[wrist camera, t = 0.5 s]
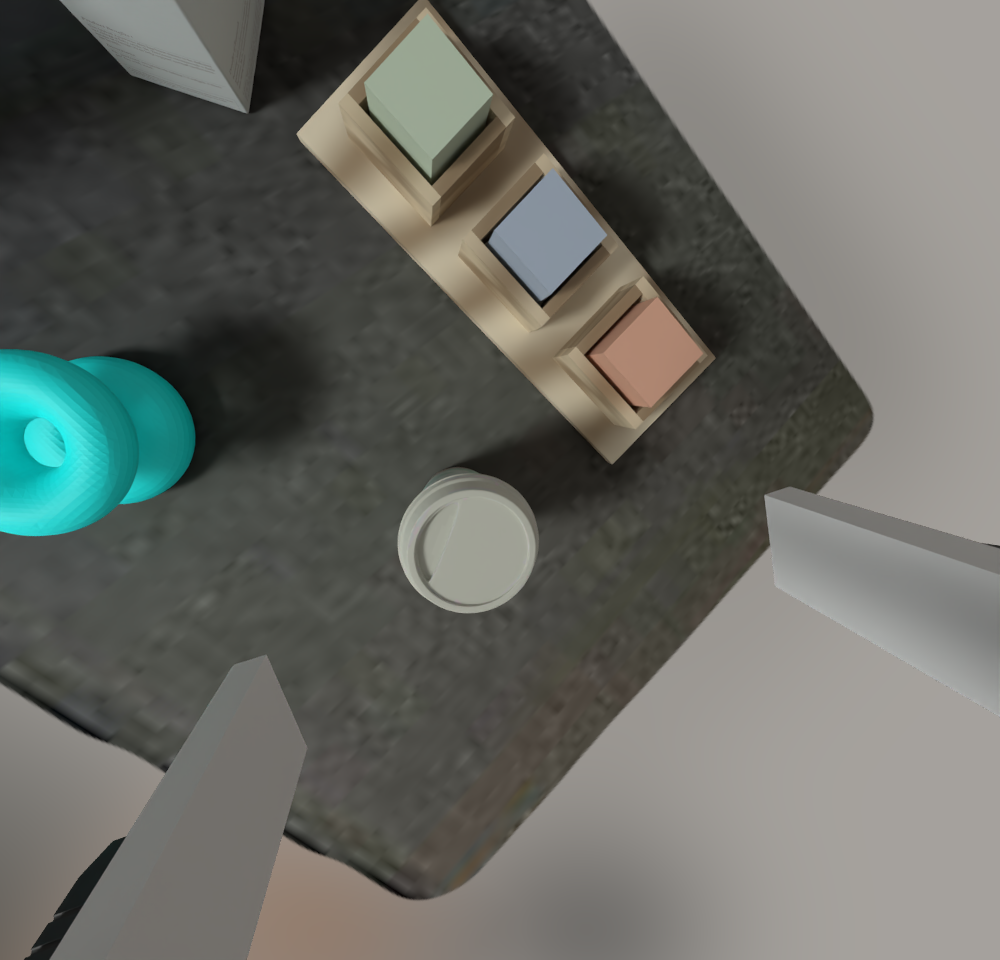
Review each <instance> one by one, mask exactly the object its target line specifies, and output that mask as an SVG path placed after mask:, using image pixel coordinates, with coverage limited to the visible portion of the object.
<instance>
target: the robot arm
mask: <svg viewBox="0 0 1000 960" xmlns="http://www.w3.org/2000/svg"><path fill="white" fill-rule="evenodd" d="M764 496H765V505H766V513H767V522H768V530H769V539H770V547H771V556H772V563H773V571H774V572H773V573H774V580H775V587H777V588H779V589H781V590H782V591H784V592H786V593H788V594H789V595H791V596H793V597H794V598H796V599H798V600H799V601H801V602H803V603H805V604H807V605H808V606H810V607H811V608H813V609H815V610H817V611H818V612H820V613H822V614H824V615H825V616H827V617H829V618H831V619H832V620H834V621H835V622H837V623H839V624H841V625H842V626H844V627H846V628H848V629H849V630H851V631H853V632H854V633H856V634H858V635H860V636H861V637H863V638H865V639H866V640H868V641H870V642H872V643H873V644H875V645H877V646H879V647H880V648H882V649H884V650H885V651H887V652H889V653H890V654H892V655H894V656H896V657H897V658H899V659H901V660H902V661H904V662H906V663H908V664H909V665H911V666H913V667H914V668H916V669H918V670H920V671H921V672H923V673H925V674H927V675H928V676H930V677H932V678H934V679H935V680H937V681H939V682H940V683H942V684H944V685H945V686H947V687H949V688H951V689H952V690H954V691H956V692H958V693H959V694H961V695H963V696H964V697H966V698H968V699H970V700H971V701H973V702H975V703H976V704H978V705H980V706H982V707H983V708H985V709H987V710H988V711H990V712H992V713H993V714H995V715H997V716H999V717H1000V546H998V545H991V544H984V543H979V542H976V541H972V540H968V539H965V538H962V537H959V536H955V535H952V534H948V533H945V532H942V531H938V530H935V529H931V528H928V527H925V526H921V525H918V524H914V523H911V522H908V521H904V520H901V519H898V518H894V517H891V516H887V515H884V514H880V513H877V512H874V511H870V510H867V509H864V508H860V507H857V506H853V505H850V504H847V503H843V502H840V501H836V500H833V499H829V498H826V497H823V496H820V495H816V494H813V493H809V492H806V491H803V490H799V489H796V488H792V487H788V488H784V489H781V490H778V491H775V492H772V493H769V494H766V495H764ZM306 751H307V746H306V744H305V742H304V739H303V737H302V735H301V733H300V730H299V728H298V726H297V723H296V721H295V719H294V717H293V714H292V712H291V710H290V707H289V705H288V703H287V701H286V698H285V696H284V694H283V691H282V689H281V687H280V685H279V682H278V680H277V678H276V675H275V673H274V671H273V669H272V666H271V664H270V662H269V660H268V657H267V655H263V656H260V657H257V658H254V659H251V660H248V661H244V662H241V663H238V664H235V665H233V666H232V668H231V669H230V671H229V673H228V674H227V676H226V677H225V679H224V681H223V682H222V684H221V685H220V687H219V689H218V690H217V692H216V693H215V695H214V697H213V698H212V700H211V702H210V703H209V705H208V706H207V708H206V710H205V711H204V713H203V714H202V716H201V718H200V719H199V721H198V722H197V724H196V726H195V727H194V729H193V730H192V732H191V734H190V735H189V737H188V738H187V740H186V742H185V743H184V745H183V746H182V748H181V750H180V751H179V753H178V754H177V756H176V758H175V759H174V761H173V762H172V764H171V766H170V767H169V769H168V770H167V772H166V774H165V775H164V777H163V779H162V780H161V782H160V783H159V785H158V787H157V788H156V790H155V791H154V793H153V795H152V796H151V798H150V799H149V801H148V803H147V804H146V806H145V807H144V809H143V811H142V812H141V814H140V815H139V817H138V819H137V820H136V822H135V823H134V825H133V827H132V828H131V830H130V831H129V833H128V835H127V836H126V837H123V838H120V839H118V840H115V841H113V842H112V843H111V844H110V845H109V846H108V847H107V848H106V849H105V850H104V851H103V852H102V853H101V854H100V856H99V857H98V858H97V859H96V860H95V861H94V862H93V863H92V864H91V865H90V866H89V867H88V868H87V869H86V870H85V871H84V872H83V874H82V875H81V876H80V877H79V878H78V880H77V881H76V883H75V884H74V886H73V887H72V889H71V890H70V892H69V893H68V895H67V896H66V898H65V899H64V901H63V902H62V904H61V905H60V907H59V908H58V910H57V911H56V913H55V914H54V920H53V922H51V923H48V925H47V926H46V928H45V929H44V931H43V932H42V934H41V935H40V937H39V938H38V940H37V941H36V943H35V944H34V946H33V947H32V949H31V950H32V953H31V955H30V956H29V957H26V958H25V959H24V960H247V957H248V953H249V950H250V946H251V942H252V939H253V936H254V932H255V929H256V925H257V921H258V918H259V915H260V911H261V908H262V904H263V901H264V897H265V894H266V890H267V887H268V883H269V880H270V876H271V873H272V869H273V866H274V862H275V859H276V855H277V852H278V848H279V845H280V841H281V838H282V834H283V831H284V827H285V824H286V821H287V817H288V814H289V810H290V807H291V803H292V800H293V796H294V793H295V789H296V786H297V782H298V779H299V775H300V772H301V768H302V765H303V761H304V758H305V754H306Z"/></svg>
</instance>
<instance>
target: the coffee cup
mask: <svg viewBox="0 0 1000 960" xmlns="http://www.w3.org/2000/svg"><path fill="white" fill-rule="evenodd" d="M538 546H539V536H538V529H537V524H536V520H535V517H534V514H533V512H532V510H531V508H530V506H529V504H528V503H527V501H526V500H525V499H524V497H523V496H522V495H521V494H520V493H519V492H518V491H517V490H516V489H515V488H513V487H512V486H511V485H509V484H508V483H506V482H504V481H502V480H500V479H498V478H495V477H492V476H489V475H484V474H480V473H478V472H476V471H474V470H471V469H468V468H464V467H452V468H447V469H444V470H442V471H440V472H438V473H437V474H435V475H434V476H433V477H432V478H431V479H430V480H429V481H428V483H427V484H426V486H425V488H424V489H423V491H422V492H421V493H420V494H419V495H418V496H417V497H416V498H415V499H414V500H413V502H412V503H411V504H410V506H409V507H408V509H407V511H406V512H405V514H404V516H403V519H402V522H401V525H400V528H399V534H398V553H399V558H400V562H401V565H402V567H403V570H404V572H405V574H406V576H407V578H408V580H409V581H410V583H411V584H412V585H413V587H414V588H415V589H416V590H417V591H418V592H419V593H420V594H421V595H422V596H424V597H425V598H426V599H428V600H429V601H431V602H433V603H434V604H436V605H438V606H440V607H442V608H444V609H447V610H450V611H454V612H459V613H477V612H483V611H487V610H490V609H493V608H496V607H498V606H500V605H502V604H504V603H505V602H507V601H508V600H510V599H511V598H512V597H513V596H514V595H516V594H517V593H518V591H519V590H520V589H521V588H522V587H523V586H524V584H525V583H526V581H527V580H528V578H529V576H530V574H531V572H532V569H533V567H534V564H535V561H536V558H537V553H538Z"/></svg>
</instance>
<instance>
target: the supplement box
mask: <svg viewBox="0 0 1000 960" xmlns="http://www.w3.org/2000/svg"><path fill="white" fill-rule="evenodd" d="M60 1H61V2H62V3H63V4H64V5H65V6H66V7H67V9H68V10H69V11H70V12H71V13H72V14H73V15H74V16H75V17H76V18H77V19H78V20H79V21H80V22H81V23H82V24H83V25H84V26H85V27H86V28H87V29H88V30H89V31H90V33H91V34H92V35H93V36H94V37H95V38H96V39H97V40H98V41H99V42H100V43H101V44H102V45H103V46H104V47H105V49H106V50H107V51H108V52H109V53H110V54H111V55H112V56H113V57H114V58H115V59H116V60H117V61H118V62H119V63H120V64H121V65H122V66H123V67H124V68H125V69H126V71H127V72H128V73H129V74H130V75H132V76H135V77H138V78H141V79H144V80H147V81H150V82H153V83H155V84H159V85H162V86H165V87H168V88H171V89H174V90H177V91H180V92H183V93H186V94H189V95H192V96H195V97H198V98H201V99H204V100H207V101H210V102H213V103H217V104H220V105H223V106H226V107H229V108H232V109H235V110H238V111H241V112H244V113H249V108H250V101H251V95H252V88H253V81H254V74H255V68H256V59H257V53H258V46H259V39H260V32H261V24H262V17H263V10H264V2H265V0H60Z"/></svg>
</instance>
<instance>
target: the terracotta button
mask: <svg viewBox="0 0 1000 960" xmlns="http://www.w3.org/2000/svg"><path fill="white" fill-rule="evenodd" d="M703 354H704V353H703V352H702V351H701V350H700V349H699V347H698V346H697V345H696V344H695V342H694V341H693V340H692V339H691V337H690V336H689V335H688V334H687V333H686V331H685V330H684V329H683V328H682V326H681V325H680V324H679V323H678V321H677V320H676V319H675V318H674V316H673V315H672V314H671V313H670V312H669V310H668V309H667V308H666V307H665V305H664V304H663V303H662V302H661V300H660V299H659V298H658V297H655V298H652V299H650V300H647V301H644V302H641V303H639V304H636V305H633V306H631V307H630V308H629V309H628V310H627V311H626V312H625V313H624V314H623V315H622V316H621V317H620V318H619V319H618V320H617V321H616V322H615V323H614V324H613V325H612V327H611V328H610V329H609V330H608V331H607V332H606V333H605V334H604V335H603V336H602V337H601V338H600V339H599V340H598V341H597V342H596V343H595V344H594V345H593V346H592V347H591V348H590V349H589V351H588V352H587V353H586V354H585V355H584V356H585V357H586V358H587V359H588V361H589V362H590V363H591V364H592V365H593V366H594V367H595V368H596V369H597V371H598V372H599V373H600V374H601V375H602V376H603V377H604V378H605V379H606V381H607V382H608V383H609V384H610V385H611V386H612V387H613V388H614V389H615V391H616V392H617V393H618V394H619V395H620V396H621V397H622V398H623V399H624V401H625V402H626V403H627V404H628V405H633V406H642V407H652V406H653V405H654V404H655V403H656V402H657V401H658V400H659V399H660V398H661V397H662V396H663V395H664V394H665V393H666V392H667V391H668V390H669V389H670V388H671V387H672V385H673V384H674V383H675V382H676V381H677V380H678V379H679V378H680V377H681V376H682V375H683V374H684V373H685V372H686V371H687V370H688V369H689V368H690V367H691V366H692V365H693V364H694V363H695V362H696V361H697V360H698V359H699V358H700V357H701V356H702V355H703Z"/></svg>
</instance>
